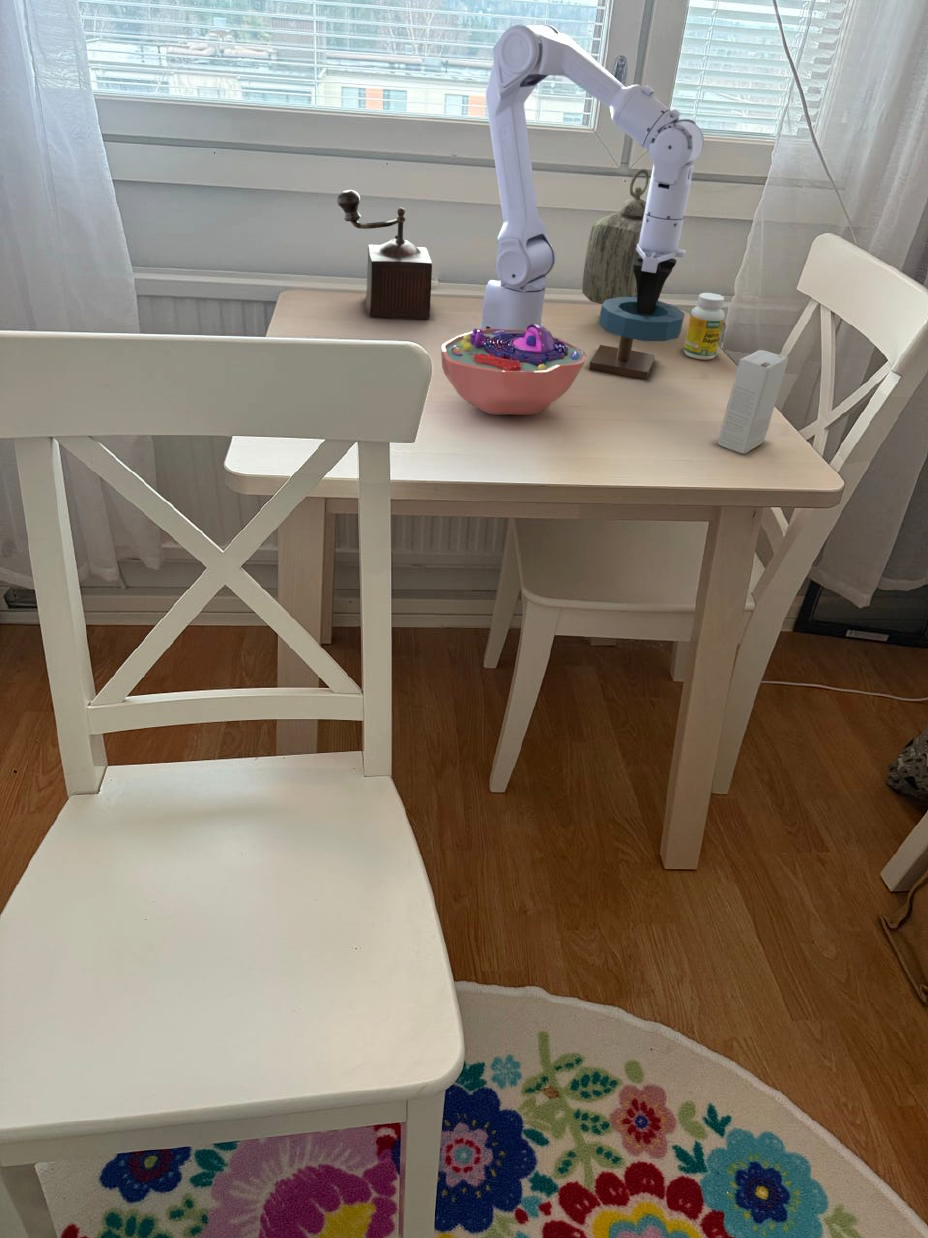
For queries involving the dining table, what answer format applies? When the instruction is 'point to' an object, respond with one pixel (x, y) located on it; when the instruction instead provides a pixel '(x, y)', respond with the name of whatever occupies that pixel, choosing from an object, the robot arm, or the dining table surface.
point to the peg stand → (622, 360)
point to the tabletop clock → (615, 250)
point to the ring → (641, 320)
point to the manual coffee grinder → (393, 269)
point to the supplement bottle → (705, 327)
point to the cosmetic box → (752, 401)
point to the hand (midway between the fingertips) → (645, 310)
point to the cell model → (511, 368)
